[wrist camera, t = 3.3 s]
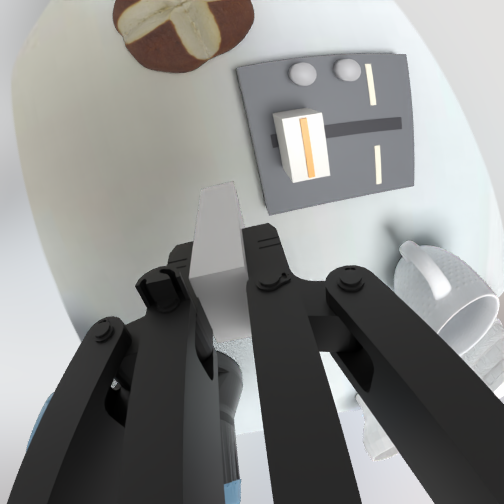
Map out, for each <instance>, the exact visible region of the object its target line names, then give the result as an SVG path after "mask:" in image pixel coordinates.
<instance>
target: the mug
mask: <svg viewBox="0 0 504 504" xmlns="http://www.w3.org/2000/svg"><path fill="white" fill-rule="evenodd" d="M399 252H400V253H401V255H402V256H403V257H402V258H401V259H400V261H399V262H398V264H397V266H396V269H395V274H394V291H395V294H396V295H397V296H398V297H400V298H401V299H402V300H403V301H404V302H405V303H406V304H407V305H408V306H409V307H410V308H411V309H412V310H413V311H414V312H415V313H417V314H418V315H419V316H420V317H421V318H422V319H423V320H424V321H425V322H426V323H427V324H428V325H429V326H430V327H431V328H432V329H433V330H434V331H435V332H436V333H437V334H438V335H439V336H440V337H441V338H442V339H443V340H444V341H445V342H446V343H447V344H448V345H449V346H450V347H451V348H452V349H453V350H454V351H455V352H456V353H457V354H458V355H459V356H461V355H463V354H464V353H466V352H467V351H469V350H470V349H471V348H472V347H473V346H474V345H475V344H476V343H478V342H479V341H480V340H481V338H482V337H483V336H484V335H485V334H486V333H487V331H488V330H489V329H490V327H491V326H492V324H493V322H494V320H495V318H496V316H497V313H498V310H499V298H498V296H497V295H496V294H495V293H494V292H493V290H492V289H491V288H490V287H489V285H487V283H486V282H485V281H484V280H483V279H482V278H481V277H480V276H479V275H478V274H477V273H476V272H475V271H474V270H473V269H472V268H471V267H470V266H468V265H467V264H466V262H464V261H463V260H461V259H460V258H459V257H457V256H455V255H454V254H452V253H451V252H448V251H447V250H444V249H442V248H439V247H435V246H429V245H422V246H419V245H417V244H416V243H415V242H413V241H410V240H409V241H406V242H404V243H403V244H402V245H401V246H400V248H399Z"/></svg>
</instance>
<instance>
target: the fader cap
mask: <svg viewBox="0 0 504 504" xmlns="http://www.w3.org/2000/svg"><path fill="white" fill-rule="evenodd" d="M273 118H274V123H275V128H276V134H277V139H278V144H279V149H280V155H281V160H282V166H283V169H284V170H285V172H286V173H287V175H288V176H289V178H290V179H291V181H292V182H293V183H295V182H300V181H305V180H310V179H315V178H320V177H326V176H330V169H329V161H328V152H327V144H326V137H325V130H324V123H323V116H322V113H321V112H318V111H315V110H313V109H310V108H301V109H295V110H289V111H283V112H277V113H273Z"/></svg>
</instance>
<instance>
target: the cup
mask: <svg viewBox="0 0 504 504" xmlns="http://www.w3.org/2000/svg"><path fill="white" fill-rule="evenodd" d="M356 400H357V402H358V404H359V405H360V407H361V409H362V410H363V413H364V419H365V424H364V429H363V443H364V446H365V449H366V452H367V453H368V455H369V456H370V458H371V459H372V461H380V460H384V459H387V458H390V457H392V456H395V455H397V454H399V451H398V450H397V448H396V447H395V446H394V444H393V443H392V441H391V440H390V438H389V437H388V436H387V434H386V433H385V431H384V430H383V428H382V427H381V426H380V424H379V423H378V421H377V420H376V418H375V417H374V415H373V414H372V413H371V411H370V410H369V408H368V407H367V405H366V404H365V403H364V401H363V400H362V398H361V397H360V395H359V394H357V395H356Z"/></svg>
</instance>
